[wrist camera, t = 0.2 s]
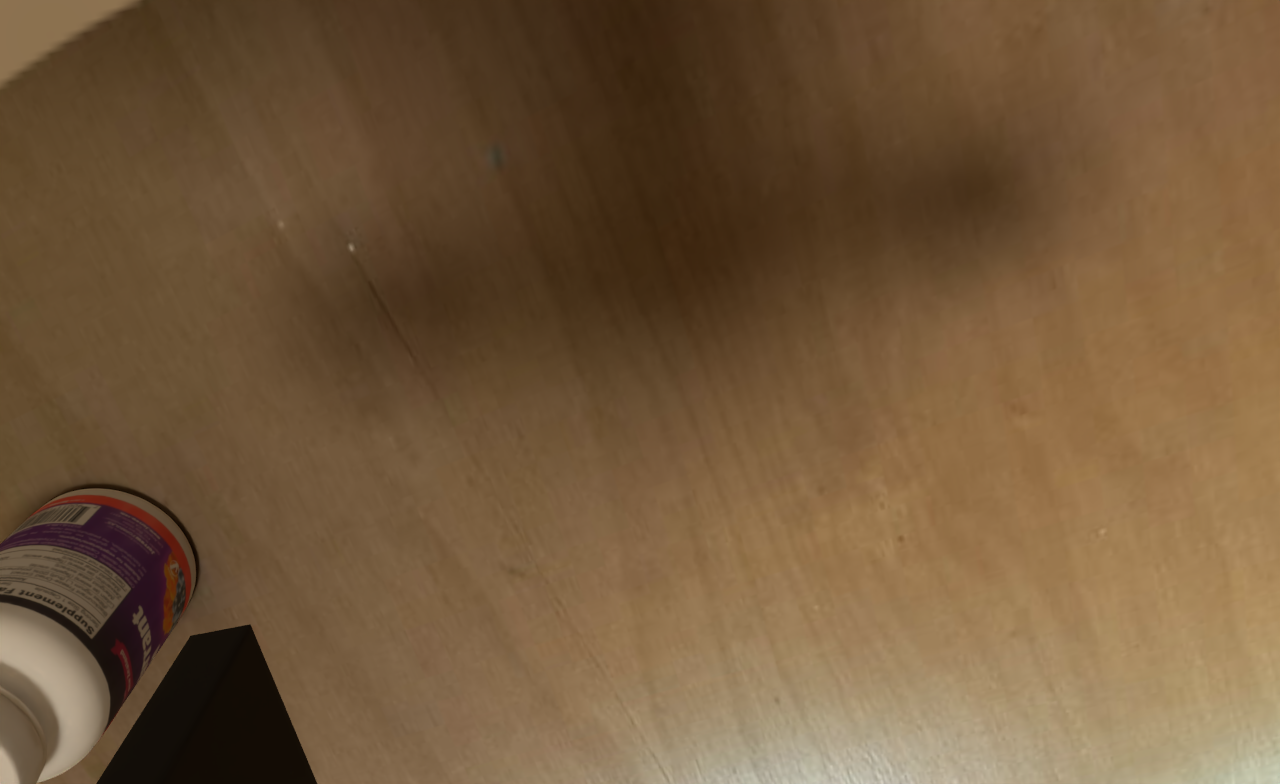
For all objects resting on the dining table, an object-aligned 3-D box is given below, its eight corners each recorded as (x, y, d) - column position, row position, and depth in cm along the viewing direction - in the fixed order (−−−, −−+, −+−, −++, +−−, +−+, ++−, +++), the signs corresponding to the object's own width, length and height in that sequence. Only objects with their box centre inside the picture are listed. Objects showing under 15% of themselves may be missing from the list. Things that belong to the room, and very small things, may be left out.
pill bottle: (166, 655, 35) (7, 897, 26) (4, 586, 34) (-220, 814, 25) (227, 530, 33) (80, 743, 24) (59, 453, 32) (-160, 646, 23)
